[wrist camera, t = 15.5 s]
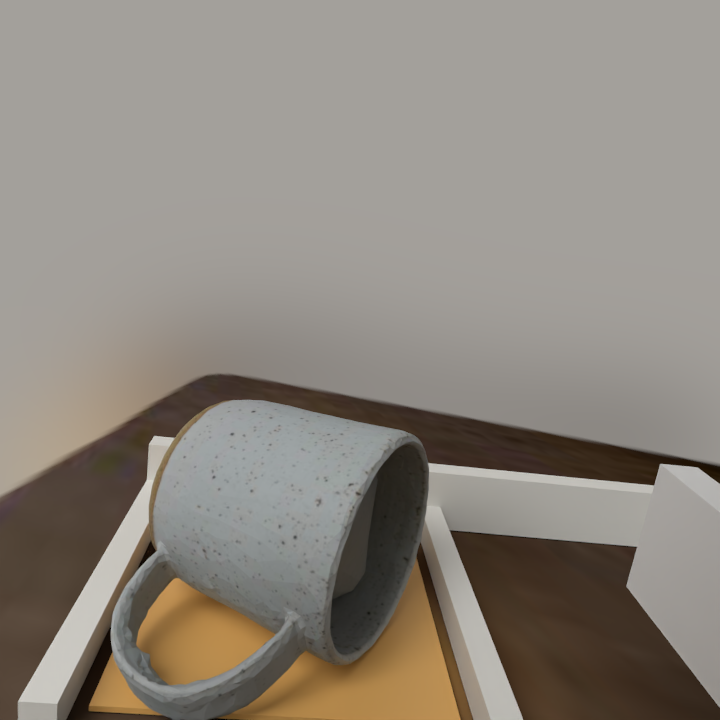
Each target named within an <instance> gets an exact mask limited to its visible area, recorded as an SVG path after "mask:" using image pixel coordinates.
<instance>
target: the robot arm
mask: <svg viewBox="0 0 720 720" xmlns="http://www.w3.org/2000/svg"><path fill="white" fill-rule="evenodd" d="M626 587H627V588H628V589H629V590H630V592H631V593H632V594H633V596H634V597H635V598H636V600H637V601H638V602H639V603H640V605H641V606H642V607H643V609H644V610H645V611H646V613H647V614H648V615H649V616H650V618H651V619H652V620H653V622H654V623H655V624H656V626H657V627H658V628H659V629H660V631H661V632H662V633H663V635H664V636H665V637H666V638H667V640H668V641H669V642H670V644H671V645H672V646H673V648H674V649H675V650H676V651H677V653H678V654H679V655H680V657H681V658H682V659H683V661H684V662H685V663H686V664H687V666H688V667H689V668H690V670H691V671H692V672H693V674H694V675H695V676H696V677H697V679H698V680H699V681H700V683H701V684H702V685H703V687H704V688H705V689H706V690H707V692H708V693H709V694H710V696H711V697H712V698H713V700H714V701H715V702H716V703H717V705H718V706H719V707H720V484H719V483H718V482H716V481H715V480H713V479H712V478H711V477H709V476H708V475H707V474H705V473H704V472H703V471H701V470H700V469H699V468H697V467H687V466H677V465H666V464H660V467H659V470H658V474H657V478H656V481H655V485H654V488H653V492H652V496H651V499H650V503H649V506H648V510H647V514H646V517H645V521H644V525H643V528H642V532H641V535H640V539H639V543H638V546H637V550H636V553H635V557H634V561H633V564H632V568H631V571H630V575H629V579H628V582H627V586H626Z"/></svg>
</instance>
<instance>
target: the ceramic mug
mask: <svg viewBox="0 0 720 720" xmlns="http://www.w3.org/2000/svg"><path fill="white" fill-rule="evenodd" d="M428 491H429V466H428V461H427V457H426V453H425V450H424V447H423V445H422V443H421V442H420V440H419V439H418V438H417V437H416V436H414V435H412V434H410V433H407V432H405V431H401V430H396V429H391V428H386V427H381V426H376V425H370V424H365V423H360V422H356V421H351V420H347V419H342V418H338V417H334V416H329V415H325V414H320V413H316V412H311V411H307V410H303V409H299V408H295V407H292V406H287V405H282V404H277V403H272V402H268V401H260V400H231V401H223V402H220V403H218V404H215V405H213V406H210V407H208V408H206V409H205V410H203V411H202V412H201V413H199V414H198V415H196V416H195V417H194V418H193V419H191V420H190V421H189V422H188V423H187V424H186V425H185V426H184V427H183V428H182V429H181V431H180V432H179V433H178V435H177V436H176V437H175V439H174V440H173V441H172V443H171V445H170V446H169V448H168V450H167V451H166V453H165V455H164V457H163V459H162V461H161V463H160V466H159V468H158V470H157V472H156V475H155V479H154V482H153V485H152V490H151V495H150V501H149V531H150V536H151V541H152V544H153V546H154V548H155V550H156V552H155V553H154V554H153V555H152V556H151V557H149V558H148V559H147V560H146V561H145V562H144V564H143V565H142V566H141V567H140V568H139V569H138V570H137V571H136V573H135V574H134V576H133V577H132V578H131V579H130V580H129V582H128V583H127V584H126V586H125V588H124V590H123V592H122V594H121V596H120V598H119V600H118V602H117V603H116V605H115V608H114V611H113V614H112V623H111V645H112V651H113V656H114V661H115V662H116V664H117V666H118V668H119V670H120V672H121V673H122V675H123V676H124V678H125V680H126V682H127V684H128V686H129V688H130V689H131V691H132V692H133V693H134V695H135V696H136V697H137V698H138V699H140V700H141V701H142V702H143V703H144V704H145V705H146V706H147V707H148V708H150V709H152V710H153V711H155V712H157V713H159V714H162V715H164V716H166V717H168V718H170V719H172V720H210V719H214V718H218V717H222V716H226V715H229V714H231V713H233V712H235V711H237V710H239V709H241V708H243V707H246V706H247V705H249V704H250V703H252V702H253V701H254V700H256V699H257V698H259V697H260V696H261V695H262V694H263V693H264V692H265V691H266V690H267V689H268V688H269V687H271V686H272V685H273V684H274V683H275V682H276V681H277V680H278V679H279V678H280V677H281V676H282V675H283V674H284V673H285V672H286V671H287V670H288V669H289V668H290V667H291V666H292V665H293V663H294V662H295V661H296V660H297V658H298V657H299V656H300V655H301V654H302V653H304V652H305V651H307V652H309V653H311V654H312V655H314V656H316V657H318V658H320V659H322V660H324V661H326V662H329V663H331V664H333V665H347V664H351V663H352V662H354V661H355V660H357V659H358V658H360V657H361V656H362V655H363V654H364V653H365V652H366V651H367V650H368V649H369V648H370V647H371V646H372V645H373V644H374V643H375V641H376V640H377V639H378V637H379V636H380V635H381V633H382V632H383V630H384V628H385V627H386V626H387V625H388V623H389V620H390V618H391V617H392V615H393V614H394V612H395V610H396V608H397V605H398V603H399V600H400V598H401V596H402V594H403V592H404V590H405V588H406V585H407V582H408V580H409V577H410V574H411V572H412V569H413V567H414V564H415V561H416V556H417V551H418V547H419V545H420V542H421V537H422V531H423V526H424V522H425V515H426V510H427V499H428ZM175 578H179V579H181V580H182V581H184V582H185V583H187V584H188V585H189V586H191V587H192V588H193V589H195V590H197V591H199V592H201V593H203V594H204V595H206V596H208V597H210V598H212V599H214V600H216V601H218V602H220V603H222V604H224V605H226V606H228V607H230V608H232V609H234V610H235V611H237V612H239V613H241V614H243V615H244V616H246V617H248V618H249V619H251V620H252V621H254V622H256V623H257V624H259V625H261V626H262V627H264V628H266V629H267V630H269V631H271V632H273V633H274V634H276V635H275V636H274V637H273V638H271V639H270V640H268V641H267V642H266V643H265V644H264V645H263V646H262V647H261V648H260V649H258V650H257V651H256V652H255V653H253V654H252V655H251V656H249V657H248V658H247V659H245V660H244V661H243V662H241V663H240V664H238V665H237V666H236V667H234V668H233V669H231V670H228V671H226V672H224V673H222V674H220V675H218V676H215V677H212V678H209V679H206V680H197V681H194V682H191V683H189V684H186V685H184V684H177V685H169V684H167V683H166V682H165V681H164V680H162V679H161V678H160V677H159V676H158V674H157V673H156V672H155V670H154V669H153V668H152V666H151V661H150V654H147V653H145V652H142V651H141V650H140V649H139V648H138V647H137V645H136V642H137V637H138V631H139V629H140V626H141V624H142V622H143V621H144V619H145V618H146V616H147V613H148V610H149V609H150V607H151V606H152V605H153V603H154V602H155V601H156V599H157V598H158V596H159V595H160V594H161V593H162V592H163V591H164V589H165V588H166V587H167V586H168V584H169V583H170V582H171V581H172V580H173V579H175Z"/></svg>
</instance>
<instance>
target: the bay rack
mask: <svg viewBox="0 0 720 720" xmlns="http://www.w3.org/2000/svg"><path fill="white" fill-rule="evenodd" d="M174 439H175V438H169V437H159V436H154V437H153V439H152V440H151V442H150V443H149V452H148V471H147V481H146V483H145V484H144V486H143V488H142V489H141V491H140V493H139V495H138V496H137V498H136V500H135V502H134V503H133V505H132V507H131V508H130V510H129V512H128V514H127V515H126V517H125V519H124V520H123V522H122V524H121V526H120V527H119V529H118V531H117V532H116V534H115V536H114V538H113V539H112V541H111V543H110V544H109V546H108V548H107V550H106V551H105V553H104V555H103V556H102V558H101V560H100V562H99V563H98V565H97V567H96V568H95V570H94V572H93V574H92V575H91V577H90V579H89V580H88V582H87V584H86V586H85V587H84V589H83V591H82V592H81V594H80V596H79V598H78V599H77V601H76V603H75V605H74V606H73V608H72V610H71V611H70V613H69V615H68V617H67V618H66V620H65V622H64V623H63V625H62V627H61V629H60V630H59V632H58V634H57V635H56V637H55V639H54V641H53V642H52V644H51V646H50V647H49V649H48V651H47V653H46V654H45V656H44V658H43V659H42V661H41V663H40V665H39V666H38V668H37V670H36V671H35V673H34V675H33V677H32V678H31V680H30V682H29V683H28V685H27V687H26V689H25V690H24V692H23V694H22V695H21V697H20V699H19V701H18V720H66V719H67V717H68V715H69V713H70V711H71V709H72V706H73V704H74V702H75V700H76V698H77V696H78V694H79V692H80V689H81V687H82V685H83V683H84V681H85V679H86V677H87V675H88V673H89V670H90V668H91V666H92V664H93V662H94V660H95V658H96V656H97V653H98V651H99V649H100V647H101V645H102V643H103V641H104V639H105V636H106V634H107V632H108V630H109V628H110V626H111V623H112V614H113V611H114V608H115V605H116V603H117V602H118V600H119V598H120V596H121V594H122V592H123V590H124V588H125V586H126V584H127V583H128V582H129V580H130V579H131V578H132V577H133V576H134V574H135V573H136V571H137V569H138V566H139V564H140V562H141V560H142V558H143V556H144V554H145V552H146V550H147V547H148V545H149V543H150V541H151V536H150V531H149V501H150V495H151V490H152V485H153V482H154V479H155V475H156V472H157V470H158V468H159V466H160V463H161V461H162V459H163V457H164V455H165V453H166V451H167V450H168V448H169V446H170V445H171V443H172V441H173V440H174ZM428 466H429V491H428V499H427V510H426V515H425V522H424V526H423V531H422V537H421V545H422V548H423V551H424V555H425V558H426V561H427V565H428V568H429V572H430V575H431V578H432V582H433V585H434V589H435V592H436V595H437V599H438V602H439V605H440V609H441V612H442V616H443V619H444V622H445V626H446V629H447V632H448V636H449V639H450V643H451V646H452V649H453V653H454V656H455V659H456V663H457V666H458V670H459V673H460V676H461V680H462V683H463V686H464V690H465V693H466V697H467V700H468V703H469V707H470V710H471V713H472V717H473V720H523V718H522V715H521V713H520V710H519V707H518V705H517V702H516V700H515V697H514V695H513V692H512V690H511V687H510V684H509V682H508V679H507V677H506V674H505V672H504V669H503V666H502V664H501V661H500V659H499V656H498V654H497V651H496V649H495V646H494V643H493V641H492V638H491V636H490V633H489V631H488V628H487V625H486V623H485V620H484V618H483V615H482V613H481V610H480V608H479V605H478V602H477V600H476V597H475V595H474V592H473V590H472V587H471V584H470V582H469V579H468V577H467V574H466V572H465V569H464V567H463V564H462V561H461V559H460V556H459V554H458V551H457V549H456V546H455V543H454V541H453V538H452V536H451V533H450V531H449V530H453V531H464V532H476V533H487V534H498V535H510V536H521V537H532V538H543V539H555V540H566V541H577V542H589V543H600V544H611V545H622V546H634V547H637V546H638V543H639V539H640V535H641V532H642V528H643V525H644V521H645V517H646V514H647V510H648V506H649V503H650V499H651V496H652V492H653V488H654V486H652V485H642V484H632V483H622V482H612V481H602V480H592V479H582V478H571V477H561V476H551V475H541V474H531V473H521V472H511V471H501V470H491V469H481V468H471V467H461V466H451V465H441V464H431V463H428ZM275 635H276V634H274V633H273V632H271V631H269V630H267V629H266V628H264V627H262V626H261V625H259V624H257V623H256V622H254V621H252V620H251V619H249V618H248V617H246V616H244V615H243V614H241V613H239V612H237V611H235V610H234V609H232V608H230V607H228V606H226V605H224V604H222V603H220V602H218V601H216V600H214V599H212V598H210V597H208V596H206V595H204V594H203V593H201V592H199V591H197V590H195V589H193V588H192V587H191V586H189V585H188V584H187V583H185V582H184V581H182V580H181V579H179V578H175V579H173V580H172V581H171V582H170V583H169V584H168V586H167V587H166V588H165V589H164V591H163V592H162V593H161V594H160V595H159V596H158V598H157V599H156V601H155V602H154V603H153V605H152V606H151V607H150V609H149V610H148V613H147V616H146V618H145V619H144V621H143V622H142V624H141V626H140V629H139V631H138V637H137V642H136V645H137V647H138V648H139V649H140V650H141V651H142V652H145V653H147V654H150V661H151V666H152V668H153V669H154V670H155V672H156V673H157V674H158V676H159V677H160V678H161V679H162V680H164V681H165V682H166V683H167V684H169V685H177V684H184V685H186V684H189V683H191V682H194V681H197V680H206V679H209V678H212V677H215V676H218V675H220V674H222V673H224V672H226V671H228V670H231V669H233V668H234V667H236V666H237V665H238V664H240V663H241V662H243V661H244V660H245V659H247V658H248V657H249V656H251V655H252V654H253V653H255V652H256V651H257V650H258V649H260V648H261V647H262V646H263V645H264V644H265V643H266V642H267V641H268V640H270V639H271V638H273V637H274V636H275ZM89 711H94V712H112V713H130V714H148V715H162V714H159V713H157V712H155V711H153V710H152V709H150V708H148V707H147V706H146V705H145V704H144V703H143V702H142V701H141V700H140V699H138V698H137V697H136V696H135V695H134V693H133V692H132V691H131V689H130V688H129V686H128V684H127V682H126V680H125V678H124V676H123V675H122V673H121V672H120V670H119V668H118V666H117V664H116V662H115V661H114V656H113V652H112V654H111V657H110V659H109V661H108V663H107V666H106V668H105V670H104V672H103V675H102V677H101V679H100V682H99V684H98V686H97V688H96V691H95V693H94V695H93V697H92V700H91V702H90V704H89ZM218 718H221V719H239V720H461V719H460V716H459V712H458V708H457V705H456V701H455V697H454V694H453V690H452V686H451V683H450V679H449V675H448V672H447V668H446V664H445V661H444V657H443V653H442V649H441V646H440V642H439V638H438V635H437V631H436V627H435V624H434V620H433V616H432V613H431V609H430V605H429V602H428V598H427V594H426V591H425V587H424V583H423V580H422V576H421V572H420V569H419V565H418V561H417V558H416V561H415V564H414V567H413V569H412V572H411V574H410V577H409V580H408V582H407V585H406V588H405V590H404V592H403V594H402V596H401V598H400V600H399V603H398V605H397V608H396V610H395V612H394V614H393V615H392V617H391V618H390V620H389V623H388V625H387V626H386V627H385V628H384V630H383V632H382V633H381V635H380V636H379V637H378V639H377V640H376V641H375V643H374V644H373V645H372V646H371V647H370V648H369V649H368V650H367V651H366V652H365V653H364V654H363V655H362V656H361V657H360V658H358V659H357V660H355V661H354V662H352V663H351V664H347V665H333V664H331V663H329V662H326V661H324V660H322V659H320V658H318V657H316V656H314V655H312V654H311V653H309V652H307V651H305V652H304V653H302V654H301V655H300V656H299V657H298V658H297V660H296V661H295V662H294V663H293V665H292V666H291V667H290V668H289V669H288V670H287V671H286V672H285V673H284V674H283V675H282V676H281V677H280V678H279V679H278V680H277V681H276V682H275V683H274V684H273V685H272V686H271V687H269V688H268V689H267V690H266V691H265V692H264V693H263V694H262V695H261V696H260V697H259V698H257V699H256V700H254V701H253V702H252V703H250V704H249V705H247V706H246V707H243V708H241V709H239V710H237V711H235V712H233V713H231V714H229V715H226V716H222V717H218Z"/></svg>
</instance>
